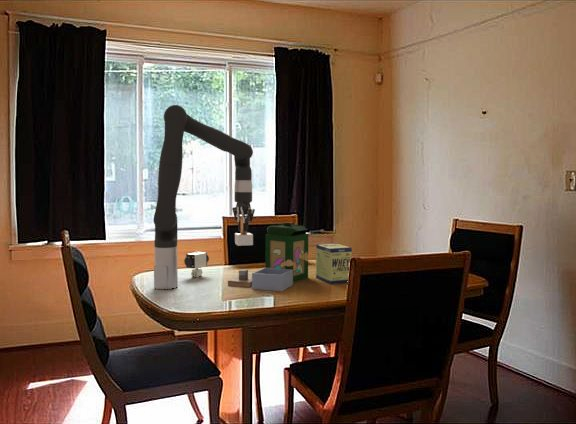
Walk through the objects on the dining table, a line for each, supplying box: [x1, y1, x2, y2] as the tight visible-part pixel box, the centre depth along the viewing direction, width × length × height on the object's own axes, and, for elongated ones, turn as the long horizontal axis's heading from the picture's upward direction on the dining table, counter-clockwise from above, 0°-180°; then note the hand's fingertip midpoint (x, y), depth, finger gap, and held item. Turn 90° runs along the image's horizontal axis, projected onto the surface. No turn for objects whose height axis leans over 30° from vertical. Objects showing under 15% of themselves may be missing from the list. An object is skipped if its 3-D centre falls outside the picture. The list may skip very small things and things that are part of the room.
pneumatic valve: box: [183, 250, 210, 278], centre depth 258 cm, size 6×12×12 cm, turn 146°
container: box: [264, 222, 309, 283], centre depth 254 cm, size 15×18×25 cm
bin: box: [251, 267, 294, 292], centre depth 237 cm, size 13×13×7 cm
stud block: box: [227, 269, 252, 288], centre depth 243 cm, size 10×10×6 cm
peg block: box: [234, 217, 254, 247], centre depth 241 cm, size 6×6×12 cm
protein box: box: [315, 243, 353, 285], centre depth 251 cm, size 10×16×16 cm
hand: (243, 231), depth 241 cm, fingers closed on peg block, 2 cm apart
